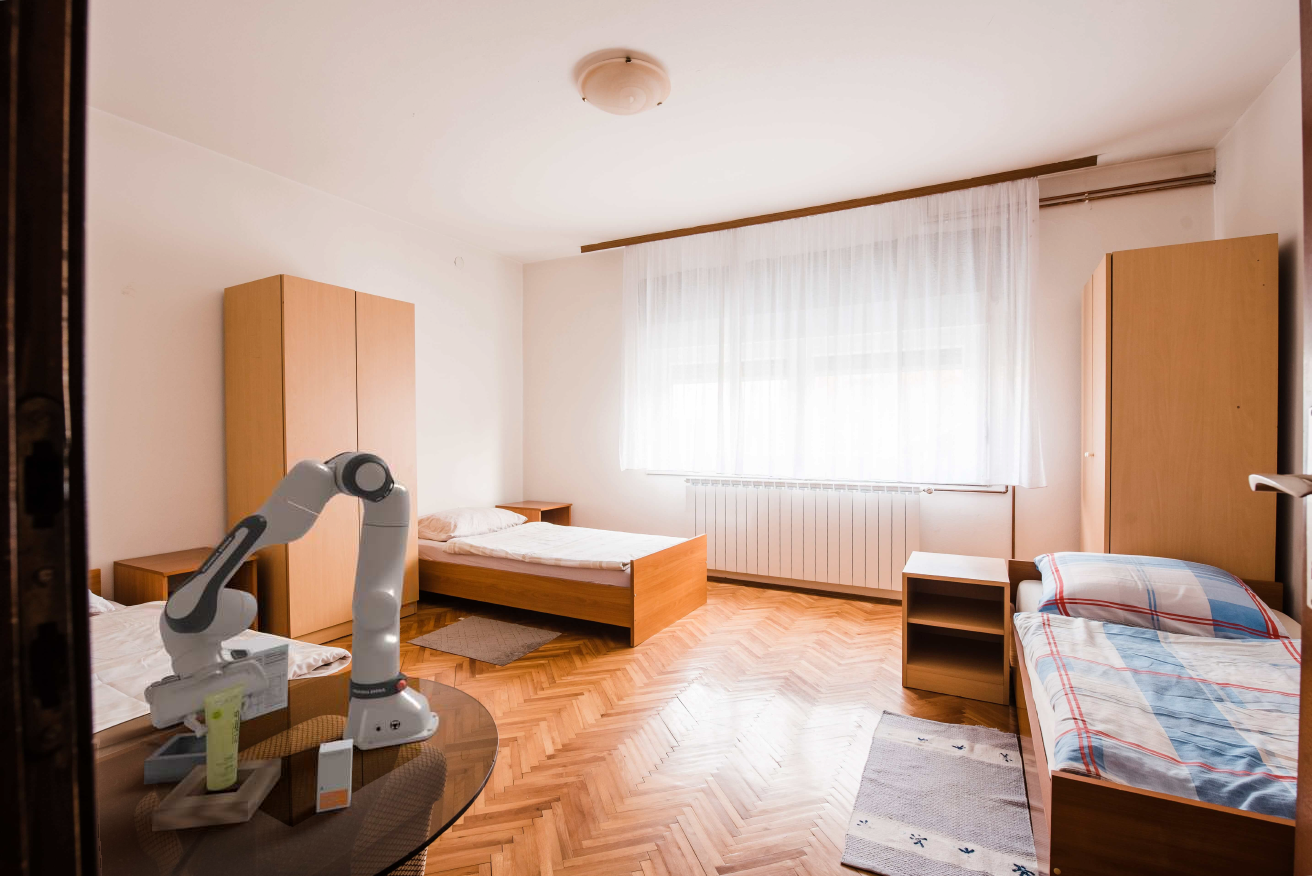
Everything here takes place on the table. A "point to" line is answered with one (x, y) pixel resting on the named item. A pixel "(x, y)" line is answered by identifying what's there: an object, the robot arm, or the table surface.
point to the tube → (222, 735)
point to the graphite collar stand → (176, 759)
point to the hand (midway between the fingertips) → (224, 727)
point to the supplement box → (268, 672)
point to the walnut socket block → (216, 797)
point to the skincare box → (334, 775)
